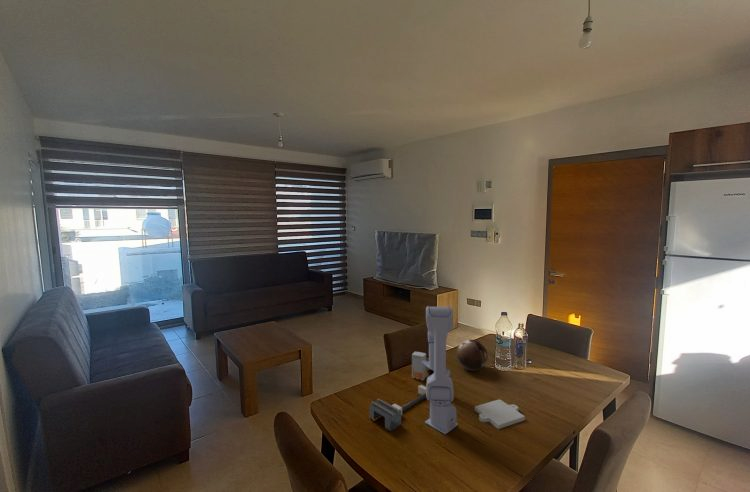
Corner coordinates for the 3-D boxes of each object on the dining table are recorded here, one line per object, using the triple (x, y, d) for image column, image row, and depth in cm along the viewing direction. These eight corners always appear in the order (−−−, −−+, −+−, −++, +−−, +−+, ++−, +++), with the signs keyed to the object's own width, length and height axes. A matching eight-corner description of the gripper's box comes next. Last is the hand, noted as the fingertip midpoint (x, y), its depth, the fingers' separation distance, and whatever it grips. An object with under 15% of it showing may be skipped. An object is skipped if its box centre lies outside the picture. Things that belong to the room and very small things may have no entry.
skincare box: (411, 378, 159) (411, 354, 158) (414, 374, 163) (414, 351, 162) (423, 381, 157) (423, 356, 155) (426, 377, 160) (426, 353, 159)
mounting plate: (492, 431, 120) (492, 426, 120) (469, 412, 132) (469, 408, 132) (529, 419, 127) (529, 414, 127) (504, 402, 139) (504, 397, 139)
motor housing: (401, 424, 124) (400, 408, 123) (389, 431, 120) (389, 415, 119) (380, 412, 132) (380, 397, 131) (369, 418, 128) (369, 403, 127)
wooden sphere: (451, 365, 173) (451, 337, 172) (475, 360, 177) (476, 333, 176) (467, 378, 159) (467, 348, 157) (493, 373, 163) (494, 343, 162)
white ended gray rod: (435, 398, 141) (435, 391, 141) (396, 423, 125) (396, 415, 124) (421, 391, 147) (421, 384, 147) (382, 413, 130) (381, 406, 130)
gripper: (454, 358, 143) (454, 388, 145) (427, 348, 154) (427, 376, 155) (445, 363, 139) (444, 394, 140) (418, 353, 149) (418, 382, 150)
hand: (435, 385), depth 147 cm, fingers closed
